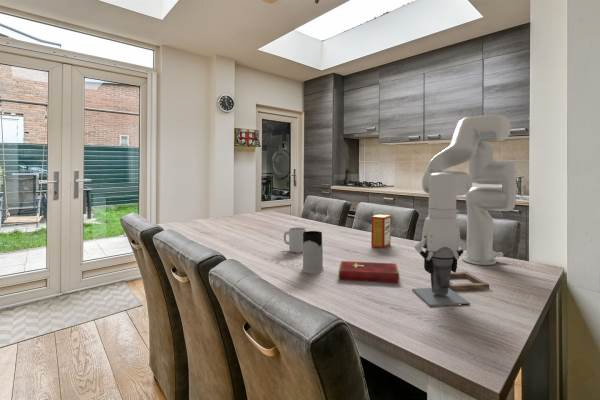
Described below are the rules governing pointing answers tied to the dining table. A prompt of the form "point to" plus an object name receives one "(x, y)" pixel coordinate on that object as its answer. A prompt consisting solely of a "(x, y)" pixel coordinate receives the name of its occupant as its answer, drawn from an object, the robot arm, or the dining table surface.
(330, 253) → the dining table surface
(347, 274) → the hardcover book
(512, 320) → the dining table surface
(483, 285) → the frame
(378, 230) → the baking soda box
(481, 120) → the robot arm
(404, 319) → the dining table surface
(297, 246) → the mug
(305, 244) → the glass holder
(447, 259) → the beverage cup
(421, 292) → the slate mat
